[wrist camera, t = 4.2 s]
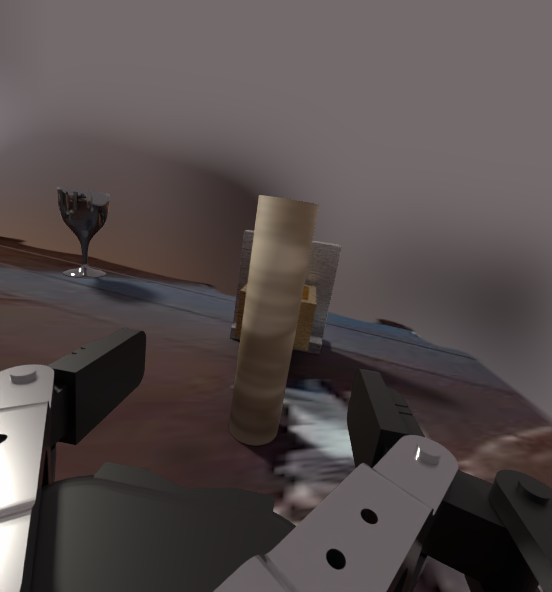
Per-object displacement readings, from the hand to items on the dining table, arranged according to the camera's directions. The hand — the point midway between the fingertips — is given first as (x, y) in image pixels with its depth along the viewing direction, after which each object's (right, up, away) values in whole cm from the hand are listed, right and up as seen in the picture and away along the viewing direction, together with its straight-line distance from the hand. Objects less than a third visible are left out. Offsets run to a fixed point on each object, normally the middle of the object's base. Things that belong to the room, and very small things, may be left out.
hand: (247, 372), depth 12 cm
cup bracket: (+1, -4, +28) cm, 29 cm away
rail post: (-1, -8, +14) cm, 16 cm away
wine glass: (-35, +7, +48) cm, 60 cm away
